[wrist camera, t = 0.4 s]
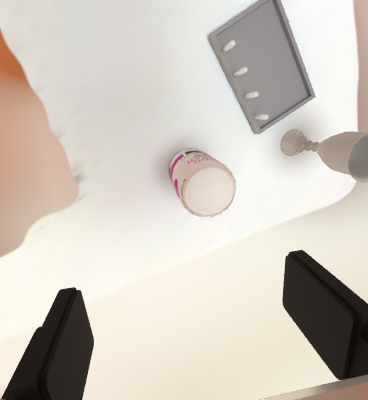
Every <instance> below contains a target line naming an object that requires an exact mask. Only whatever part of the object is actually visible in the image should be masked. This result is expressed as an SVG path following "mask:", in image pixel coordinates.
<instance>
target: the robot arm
mask: <svg viewBox="0 0 368 400" xmlns="http://www.w3.org/2000/svg"><path fill="white" fill-rule="evenodd" d="M283 306H284V308H285V310H286V311H287V313H288V314H289V315H290V317H291V318H292V319H293V321H294V322H295V323H296V325H297V326H298V327H299V329H300V330H301V331H302V333H303V334H304V335H305V337H306V338H307V339H308V341H309V342H310V344H311V345H312V346H313V348H314V349H315V350H316V352H317V353H318V354H319V355H320V357H321V358H322V360H323V361H324V362H325V364H326V365H327V366H328V368H329V369H330V370H331V372H332V373H333V374H334V376H335V377H336V378H337V379H339V380H341V381H336V382H332V383H328V384H323V385H320V386H315V387H311V388H307V389H302V390H298V391H294V392H290V393H285V394H281V395H277V396H273V397H269V398H264V399H260V400H368V304H367V303H366V302H365V301H364V300H363V299H361V298H360V297H359V296H358V295H357V294H355V293H354V292H353V291H352V290H351V289H349V288H348V287H347V286H346V285H344V284H343V283H342V282H341V281H340V280H338V279H337V278H336V277H335V276H334V275H332V274H331V273H330V272H329V271H328V270H326V269H325V268H324V267H323V266H321V265H320V264H319V263H318V262H316V261H315V260H314V259H313V258H312V257H311V256H309V255H308V254H307V253H306V252H304V251H303V250H299V251H293V252H290V253H289V254H288V256H286V260H285V274H284V287H283ZM93 346H94V338H93V334H92V330H91V327H90V323H89V319H88V316H87V312H86V308H85V304H84V301H83V297H82V293H81V291H80V290H76V288H75V287H73V288H67V289H61V290H60V291H59V292H58V294H57V296H56V298H55V300H54V302H53V305H52V307H51V309H50V311H49V313H48V315H47V317H46V319H45V321H44V323H43V325H42V327H39V328H37V329H36V331H35V333H34V334H33V336H32V338H31V340H30V343H29V344H28V346H27V348H26V350H25V352H24V354H23V357H22V359H21V360H20V362H19V364H18V366H17V368H16V370H15V372H14V374H13V376H12V378H11V380H10V382H9V384H8V386H7V388H6V390H5V392H4V394H3V396H2V398H1V400H82V398H83V392H84V388H85V384H86V379H87V374H88V369H89V365H90V360H91V355H92V351H93Z"/></svg>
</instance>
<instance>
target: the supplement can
mask: <svg viewBox="0 0 368 400" xmlns="http://www.w3.org/2000/svg"><path fill="white" fill-rule="evenodd" d="M169 174H170V179H171V181H172V183H173V185H174V188H175V190H176V192H177V194H178V197H179V199H180V201H181V203H182V204H183V206H184V208H185V209H186V210H188V211H189V212H190V213H191V214H194V215H197V216H200V217H213V216H216V215H219V214H221V213H223V212H224V211H225V210H227V209H228V208H229V206H230V205H231V203H232V202H233V199H234V196H235V191H236V185H235V179H234V176H233V174H232V172H231V171H230V170H229V169H228V168H227V167H226V166H225V165H224V164H222V163H221V162H219V161H217V160H216V159H214V158H212V157H211V156H209V155H207V154H205V153H204V152H202V151H199V150H197V149H186V150H183V151H181V152H179V153H178V154H177V155H176V156H175V157H174V158H173V160H172V161H171V163H170V168H169Z"/></svg>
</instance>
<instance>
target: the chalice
mask: <svg viewBox="0 0 368 400" xmlns="http://www.w3.org/2000/svg"><path fill="white" fill-rule="evenodd" d="M281 149H282V151H283V152H284V153H285V154H286V155H289V156H292V155H296V154H298V153H301V152H302V151H303V150H304V149H305V150H310V149H311V150H312V151H317V153H318V155H319V156H320V158H321V159H322V161H323V162H324V163H325V164H326V165H327V166H328V167H330V168H331V169H332V170H335V171H338V172H342V173H345V174H349V175H351V176H352V177H353V178H354V179H355V180H356V181H359V182H364V183H365V182H368V133H364V132H344V133H341V134H337V135H334V136H332V137H330V138H328V139H326V140H324V141H322V142H321V143H320V144H319V143H318V142H315V143H313V142H312V141H307V138H306V137H305V136H304V134H303V133H302V132H301V131H299V130H291V131H289V132H287V133H286V134H285V135H284V136H283V138H282V141H281Z"/></svg>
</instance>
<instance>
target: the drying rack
mask: <svg viewBox="0 0 368 400" xmlns="http://www.w3.org/2000/svg"><path fill="white" fill-rule="evenodd" d="M208 39H209V41H210V43H211V46H212V48H213V50H214V52H215V54H216V56H217V58H218V60H219V62H220V64H221V66H222V68H223V70H224V72H225V74H226V76H227V78H228V80H229V82H230V85H231V87H232V89H233V91H234V93H235V95H236V97H237V99H238V101H239V103H240V105H241V107H242V109H243V111H244V113H245V115H246V117H247V119H248V121H249V124H250V126H251V128H252V130H253V132H254V134H260V133H262V132H263V131H265V130H266V129H268V128H269V127H271V126H272V125H274V124H275V123H277V122H278V121H280V120H281V119H283V118H284V117H286V116H287V115H289V114H290V113H292V112H293V111H295V110H296V109H298V108H299V107H301V106H302V105H304V104H306V103H307V102H309V101H310V100H312V99H313V98H315V94H314V91H313V88H312V86H311V83H310V80H309V77H308V75H307V72H306V69H305V66H304V63H303V61H302V58H301V55H300V52H299V50H298V47H297V44H296V41H295V39H294V36H293V33H292V30H291V27H290V25H289V22H288V19H287V16H286V14H285V11H284V8H283V5H282V3H281V0H260V1H258V2H257V3H255V4H254V5H252V6H251V7H250V8H248V9H247V10H245V11H244V12H242V13H241V14H239V15H238V16H237V17H235V18H234V19H232V20H231V21H229V22H228V23H226V24H225V25H223V26H222V27H221V28H219V29H218V30H216V31H215V32H213V33H212V34H211V35H210V36H209V37H208Z"/></svg>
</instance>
